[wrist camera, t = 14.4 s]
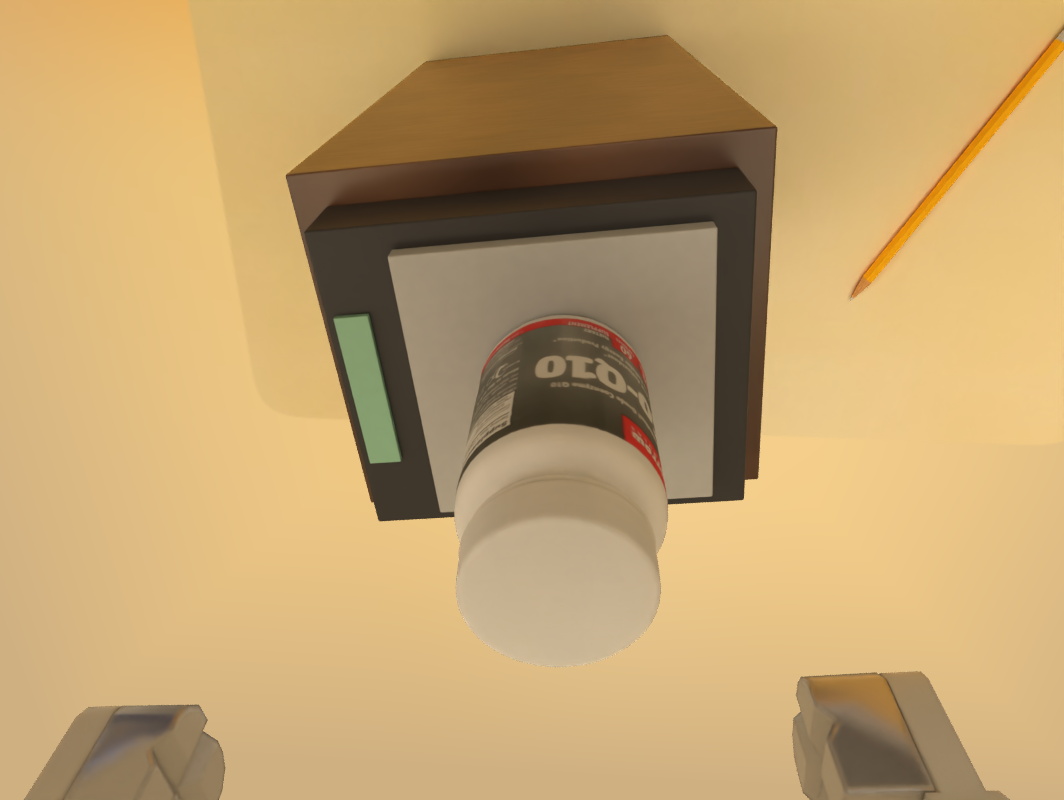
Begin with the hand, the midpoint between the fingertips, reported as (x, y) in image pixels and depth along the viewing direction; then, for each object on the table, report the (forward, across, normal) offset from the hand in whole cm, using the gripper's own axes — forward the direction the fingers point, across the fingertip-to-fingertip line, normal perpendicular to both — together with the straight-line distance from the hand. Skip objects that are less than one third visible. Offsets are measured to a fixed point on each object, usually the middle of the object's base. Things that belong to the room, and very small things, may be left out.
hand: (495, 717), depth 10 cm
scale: (+15, 0, +2) cm, 16 cm away
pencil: (+41, -24, +5) cm, 48 cm away
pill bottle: (+13, -1, +2) cm, 13 cm away
